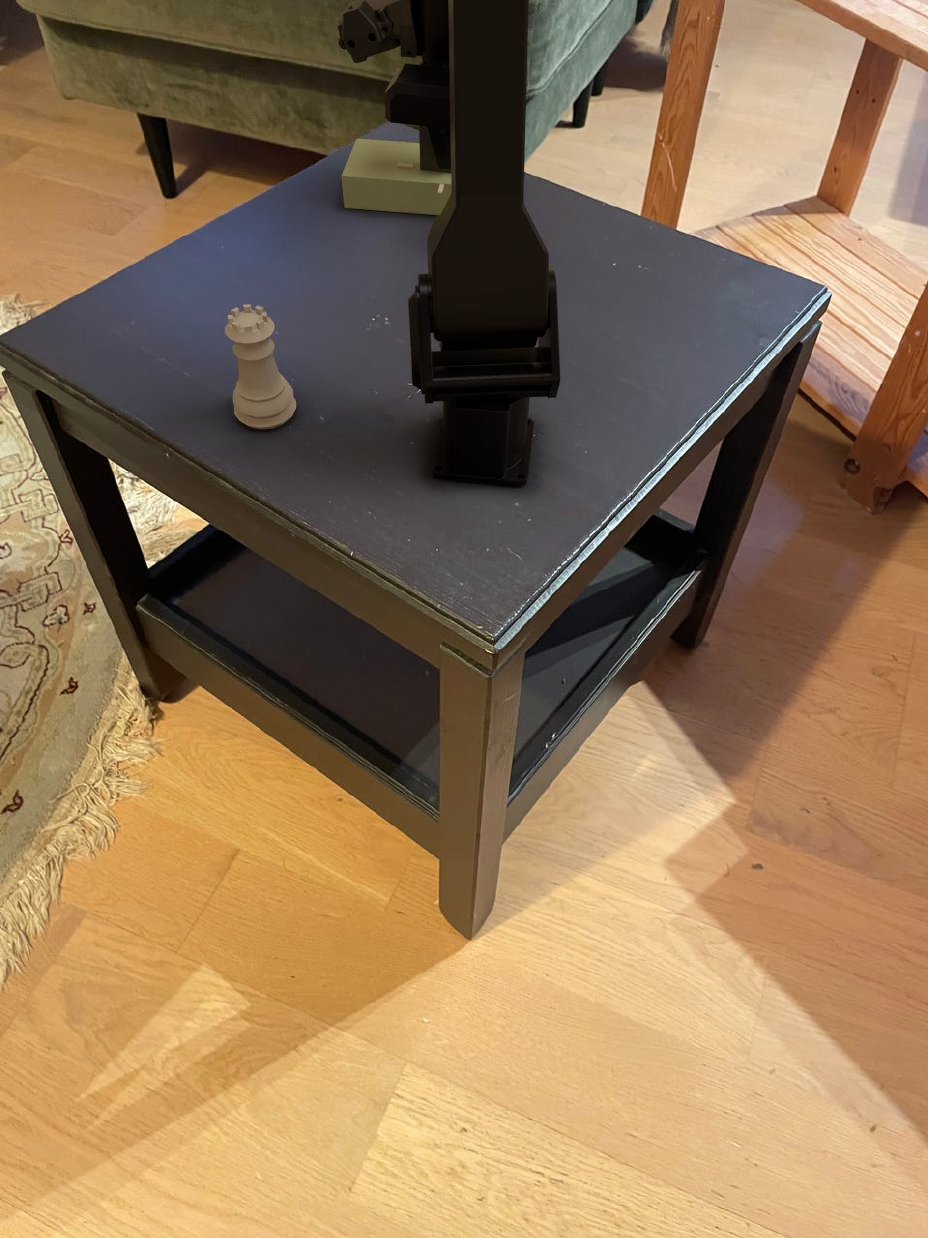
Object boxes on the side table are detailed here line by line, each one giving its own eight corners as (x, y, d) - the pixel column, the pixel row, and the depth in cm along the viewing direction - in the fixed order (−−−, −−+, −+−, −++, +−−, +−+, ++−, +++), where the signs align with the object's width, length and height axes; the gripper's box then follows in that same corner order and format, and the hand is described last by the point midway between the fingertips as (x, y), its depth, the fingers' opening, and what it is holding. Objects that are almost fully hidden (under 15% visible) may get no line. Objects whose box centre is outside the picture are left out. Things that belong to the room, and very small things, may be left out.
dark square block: (472, 167, 83) (473, 118, 79) (469, 174, 82) (470, 125, 78) (423, 161, 83) (422, 112, 80) (419, 169, 82) (418, 120, 79)
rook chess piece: (309, 413, 67) (295, 317, 60) (258, 441, 65) (238, 344, 58) (273, 384, 68) (255, 287, 62) (222, 410, 67) (198, 313, 60)
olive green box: (488, 230, 82) (489, 195, 79) (340, 218, 83) (336, 183, 80) (497, 180, 87) (499, 146, 85) (358, 170, 88) (356, 136, 86)
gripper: (373, -92, 76) (383, 107, 88) (308, -8, 65) (330, 206, 77) (506, -81, 75) (498, 119, 87) (464, 6, 64) (461, 221, 76)
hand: (446, 163), depth 82 cm, fingers closed on dark square block
